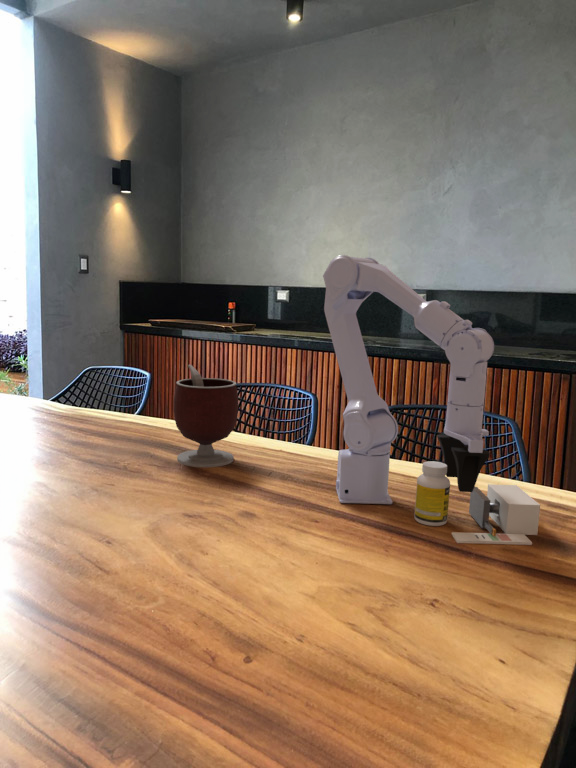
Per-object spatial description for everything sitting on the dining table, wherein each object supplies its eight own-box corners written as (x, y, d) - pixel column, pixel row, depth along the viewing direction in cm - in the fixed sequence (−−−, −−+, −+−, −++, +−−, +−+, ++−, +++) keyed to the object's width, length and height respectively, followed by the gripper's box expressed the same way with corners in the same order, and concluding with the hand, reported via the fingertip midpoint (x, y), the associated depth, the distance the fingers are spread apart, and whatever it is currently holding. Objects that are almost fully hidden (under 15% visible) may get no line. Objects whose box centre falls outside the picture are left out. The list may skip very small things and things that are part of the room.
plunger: (491, 539, 96) (493, 510, 95) (468, 512, 107) (470, 486, 106) (542, 540, 96) (545, 511, 95) (514, 513, 107) (517, 487, 106)
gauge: (457, 542, 94) (459, 511, 94) (434, 510, 108) (436, 482, 108) (548, 545, 95) (551, 514, 94) (513, 512, 109) (516, 485, 108)
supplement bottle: (448, 528, 100) (452, 470, 99) (414, 525, 101) (417, 467, 100) (446, 516, 105) (450, 461, 104) (414, 513, 106) (417, 458, 105)
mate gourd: (248, 463, 134) (251, 371, 131) (190, 472, 126) (191, 375, 123) (215, 446, 146) (216, 363, 143) (160, 454, 139) (160, 365, 136)
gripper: (506, 413, 93) (497, 499, 95) (476, 396, 108) (469, 471, 110) (459, 411, 93) (452, 497, 95) (435, 394, 107) (430, 470, 110)
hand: (458, 483), depth 102 cm, fingers open, 7 cm apart
